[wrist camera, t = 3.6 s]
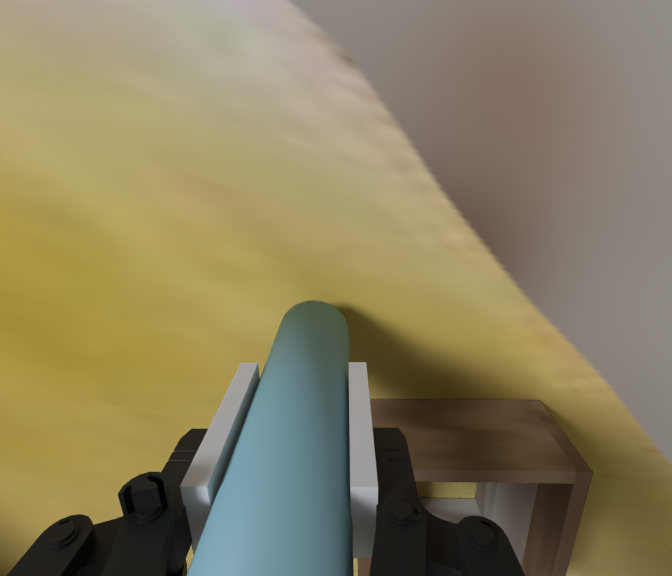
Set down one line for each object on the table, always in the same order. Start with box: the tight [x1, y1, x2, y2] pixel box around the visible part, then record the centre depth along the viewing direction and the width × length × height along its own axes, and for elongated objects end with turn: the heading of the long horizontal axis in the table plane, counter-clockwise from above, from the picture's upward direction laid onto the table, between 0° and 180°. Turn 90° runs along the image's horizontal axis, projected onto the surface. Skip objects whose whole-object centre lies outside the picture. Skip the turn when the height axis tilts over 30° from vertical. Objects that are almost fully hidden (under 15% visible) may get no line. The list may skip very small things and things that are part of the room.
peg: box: [186, 301, 353, 576], centre depth 15 cm, size 4×4×16 cm
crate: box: [358, 399, 593, 576], centre depth 25 cm, size 12×12×6 cm
